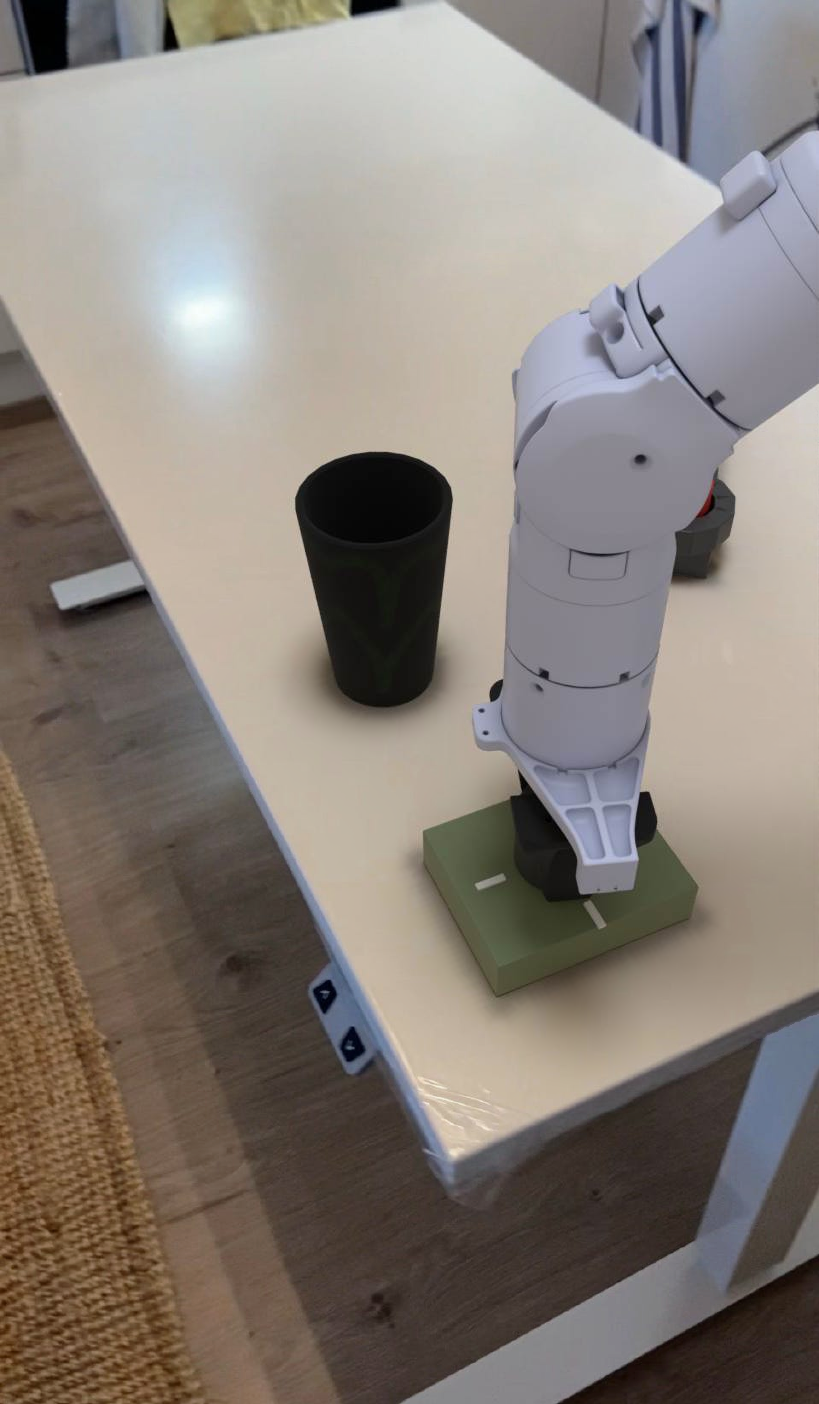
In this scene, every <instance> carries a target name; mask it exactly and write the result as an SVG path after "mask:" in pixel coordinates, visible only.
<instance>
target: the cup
mask: <svg viewBox="0 0 819 1404" xmlns="http://www.w3.org/2000/svg"><path fill="white" fill-rule="evenodd" d="M453 503H454V497H453V491H452V486H451V485H450V483H449V482H448V480H447V478H446V476H445V475H444V474H443V473H441V471H439V470H438V469H437V468H436V467H435V466H433V465H431V464H430V463H428V462H425V461H424V460H423V459H421V458H417V457H414V456H411V455H408V454H405V453H398V452H393V451H392V452H391V451H364V452H357V453H350V454H348V455H347V454H346V455H343V456H341V457H337V458H334V459H332V460H330V461H328V462H326V463H324V464H322V465H320V466H319V467H318V468H316V469H315V470H314V471H312V472H311V473H310V474H308V475H307V477H305V478H304V479H303V481H302V482H301V484H300V485H299V486H298V489H297V491H296V494H295V496H294V511H295V515H296V520H297V523H298V528H299V533H300V537H301V541H302V544H303V549H304V554H305V557H306V561H307V567H308V570H309V574H310V575H309V576H310V579H311V583H312V587H313V593H314V597H315V600H316V605H317V609H318V612H319V613H318V614H319V618H320V621H321V626H322V630H323V634H324V638H325V642H326V646H327V652H328V655H329V659H330V663H331V667H332V672H333V673H332V674H333V676H334V680H335V683H336V686H337V687H338V689H339V690H340V691H341V692H342V693H343V694H344V695H345V696H346V697H347V698H349V699H351V700H352V701H354V702H357V703H359V704H362V705H365V706H368V707H369V706H370V707H375V708H376V707H377V708H389V707H395V706H400V705H403V704H406V703H408V702H411V701H413V700H414V699H416V698H418V697H419V696H421V694H422V693H424V692H425V691H426V690H427V689H428V688H429V686H430V684H431V682H432V680H433V676H434V672H435V664H436V656H437V655H436V654H437V646H438V639H439V638H438V636H439V627H440V618H441V611H442V601H443V593H444V585H445V576H446V575H445V574H446V567H447V566H446V565H447V556H448V547H449V539H450V530H451V522H452V521H451V519H452V512H453Z"/></svg>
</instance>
